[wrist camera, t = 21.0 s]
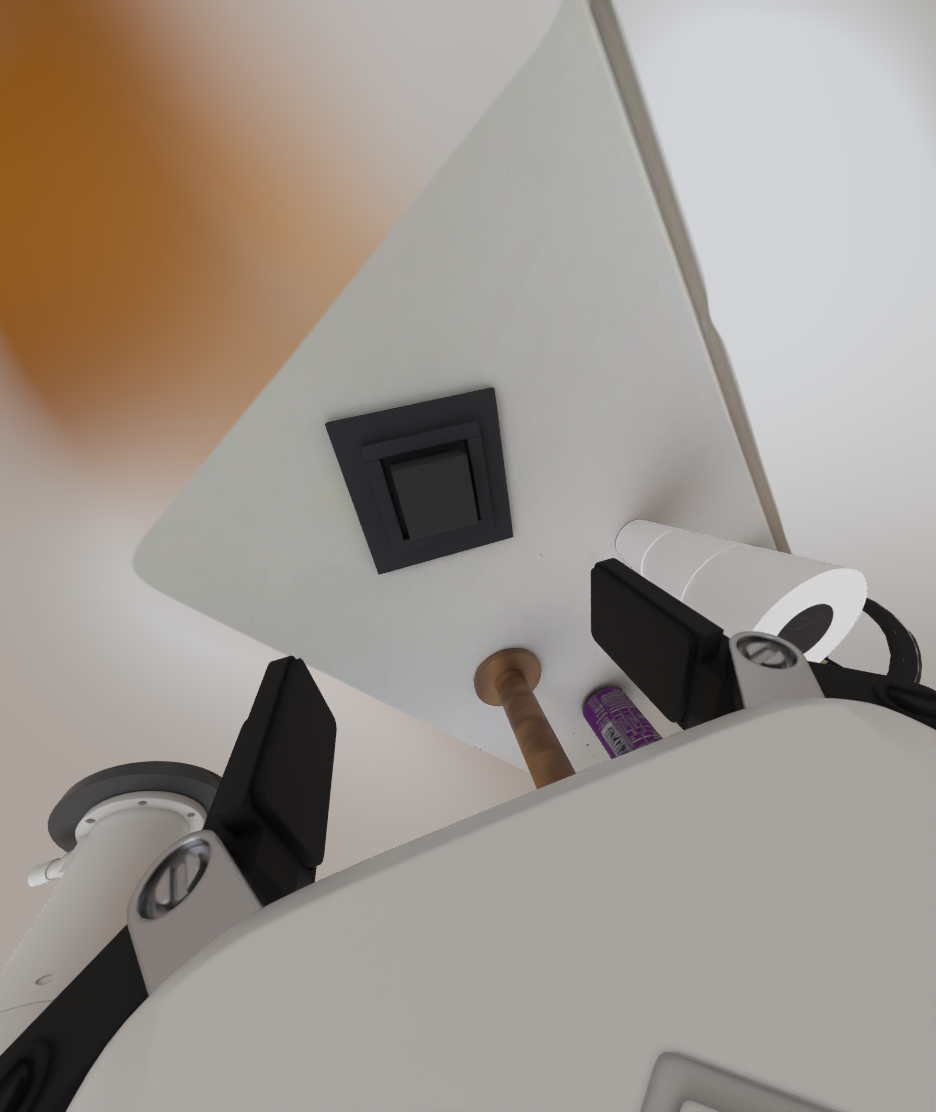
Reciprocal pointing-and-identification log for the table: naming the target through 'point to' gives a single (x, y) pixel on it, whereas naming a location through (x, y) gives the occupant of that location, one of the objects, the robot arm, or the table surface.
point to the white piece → (749, 585)
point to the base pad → (413, 434)
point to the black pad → (435, 493)
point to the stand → (523, 711)
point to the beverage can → (618, 722)
